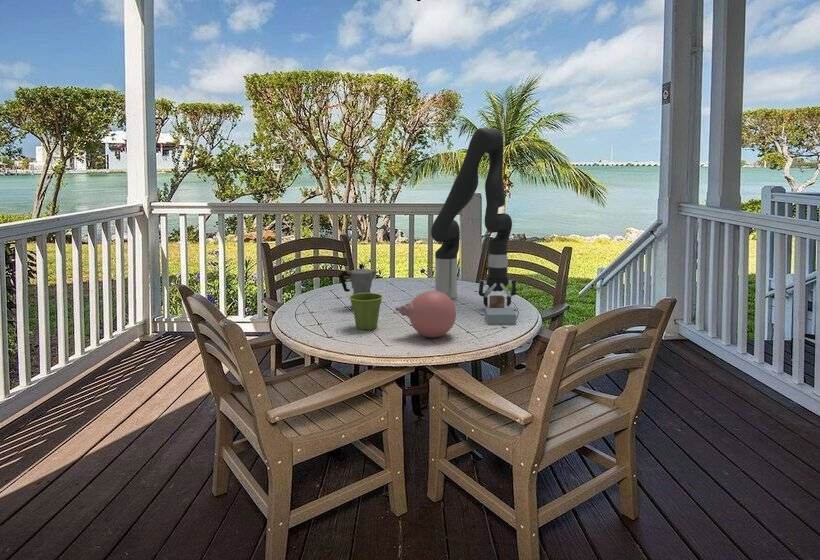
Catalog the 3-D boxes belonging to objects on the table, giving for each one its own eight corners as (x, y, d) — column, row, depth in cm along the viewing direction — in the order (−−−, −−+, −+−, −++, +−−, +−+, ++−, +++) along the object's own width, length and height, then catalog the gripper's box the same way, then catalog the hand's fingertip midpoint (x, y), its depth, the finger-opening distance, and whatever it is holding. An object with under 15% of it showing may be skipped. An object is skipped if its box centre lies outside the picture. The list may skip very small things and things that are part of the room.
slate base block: (487, 325, 209) (487, 314, 209) (484, 318, 219) (485, 308, 218) (515, 325, 209) (516, 314, 208) (511, 318, 219) (512, 307, 218)
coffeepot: (375, 304, 241) (374, 261, 237) (381, 310, 232) (380, 264, 229) (338, 307, 236) (336, 263, 233) (342, 313, 228) (341, 267, 224)
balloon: (397, 329, 204) (396, 286, 201) (455, 330, 203) (455, 286, 200) (393, 343, 189) (392, 296, 186) (456, 343, 187) (456, 296, 185)
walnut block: (491, 310, 229) (491, 298, 228) (489, 307, 234) (489, 295, 233) (504, 310, 229) (504, 298, 228) (502, 307, 234) (502, 295, 233)
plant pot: (343, 330, 204) (342, 298, 202) (360, 322, 215) (359, 291, 212) (374, 333, 199) (373, 301, 197) (389, 325, 210) (388, 294, 208)
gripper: (514, 263, 232) (513, 303, 235) (478, 264, 232) (477, 304, 235) (518, 266, 225) (517, 308, 228) (480, 267, 225) (480, 308, 228)
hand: (497, 306), depth 232 cm, fingers open, 8 cm apart
